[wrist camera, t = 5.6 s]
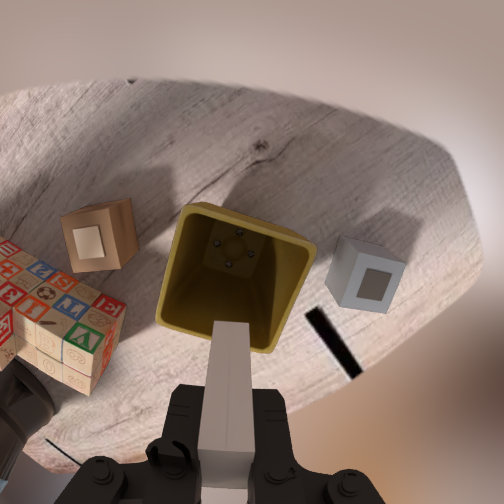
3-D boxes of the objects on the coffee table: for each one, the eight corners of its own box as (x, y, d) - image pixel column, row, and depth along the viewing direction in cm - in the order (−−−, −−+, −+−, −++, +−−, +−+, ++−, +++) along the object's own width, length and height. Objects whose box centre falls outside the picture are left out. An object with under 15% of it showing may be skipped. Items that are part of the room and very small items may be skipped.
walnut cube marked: (96, 253, 27) (72, 273, 22) (86, 206, 25) (59, 217, 20) (139, 249, 27) (120, 269, 22) (130, 198, 25) (107, 208, 20)
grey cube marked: (324, 282, 29) (339, 307, 24) (339, 235, 27) (359, 252, 22) (366, 290, 29) (386, 314, 24) (382, 246, 28) (407, 264, 23)
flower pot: (202, 185, 25) (182, 201, 17) (295, 216, 26) (321, 246, 18) (177, 273, 28) (153, 324, 19) (262, 299, 29) (271, 356, 20)
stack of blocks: (129, 302, 29) (80, 379, 17) (118, 344, 30) (79, 421, 19) (-8, 230, 25) (-74, 264, 14) (-9, 271, 27) (-67, 313, 15)
